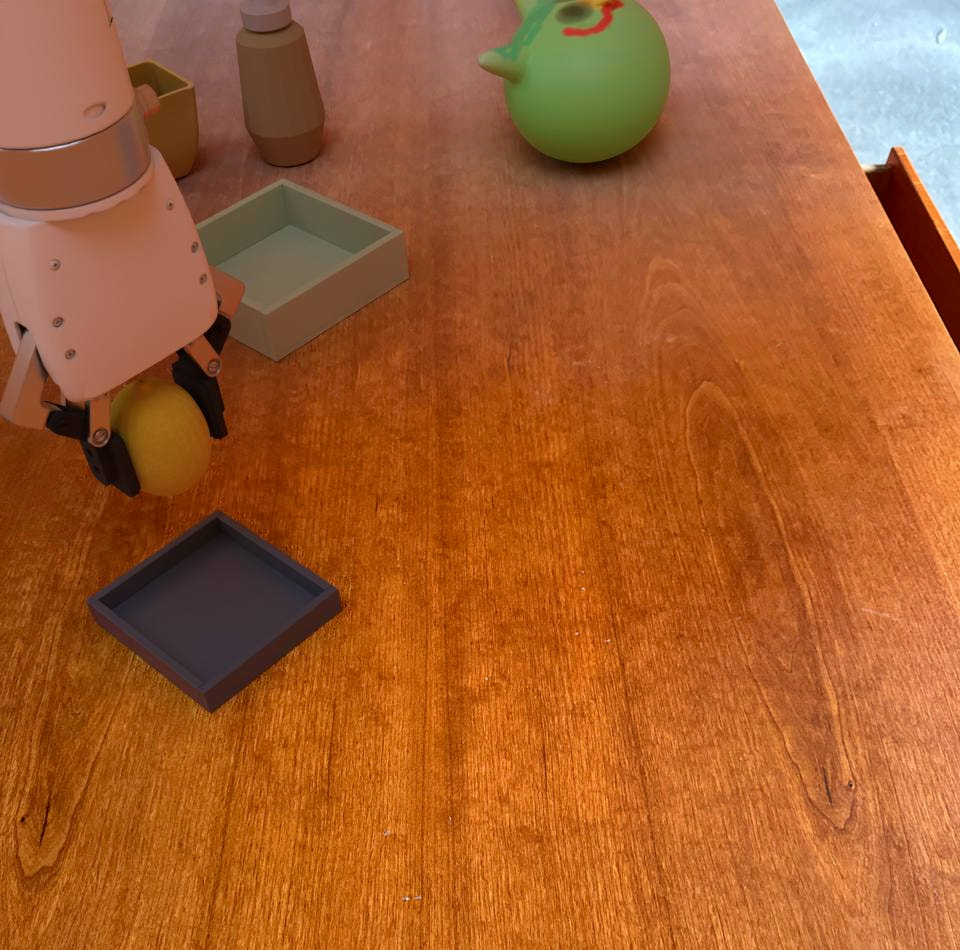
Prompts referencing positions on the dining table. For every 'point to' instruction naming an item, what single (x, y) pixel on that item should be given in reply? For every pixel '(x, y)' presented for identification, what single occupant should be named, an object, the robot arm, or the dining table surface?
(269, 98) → the squeeze bottle
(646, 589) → the dining table surface
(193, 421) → the lemon
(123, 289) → the robot arm
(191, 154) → the flower pot
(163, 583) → the tray
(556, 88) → the toy bird
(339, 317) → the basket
